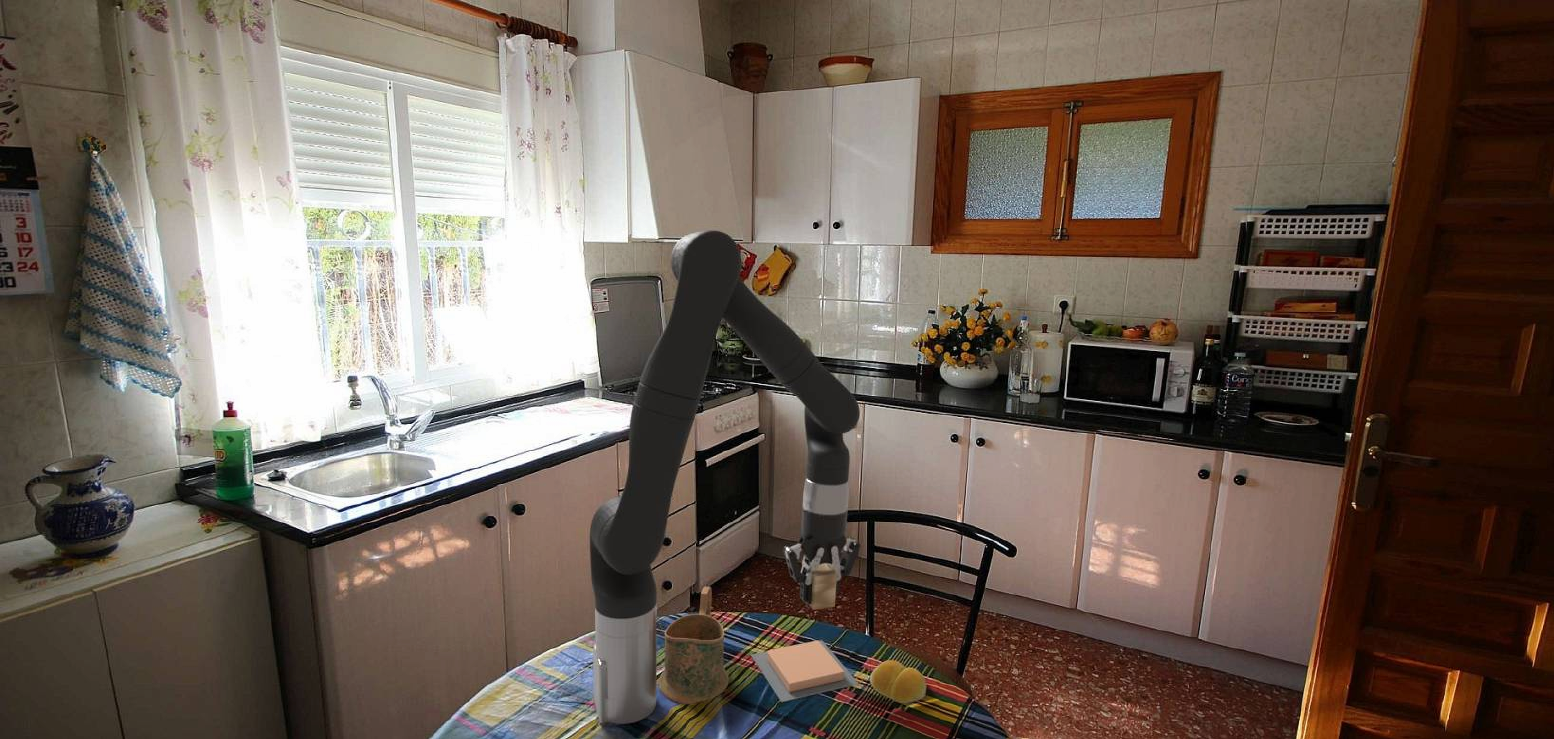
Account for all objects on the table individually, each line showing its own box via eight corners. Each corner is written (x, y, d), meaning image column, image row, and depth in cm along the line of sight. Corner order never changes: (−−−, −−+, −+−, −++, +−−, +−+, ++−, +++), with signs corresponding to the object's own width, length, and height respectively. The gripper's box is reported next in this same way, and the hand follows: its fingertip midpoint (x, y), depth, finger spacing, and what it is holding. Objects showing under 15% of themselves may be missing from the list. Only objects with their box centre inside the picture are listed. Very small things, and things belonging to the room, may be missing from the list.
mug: (739, 645, 129) (740, 584, 127) (722, 707, 112) (723, 637, 110) (676, 640, 130) (677, 579, 128) (650, 700, 113) (650, 631, 111)
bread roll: (913, 712, 112) (914, 690, 112) (863, 691, 118) (864, 668, 117) (934, 687, 119) (936, 666, 118) (887, 668, 124) (888, 647, 123)
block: (813, 610, 119) (815, 576, 118) (803, 598, 122) (805, 566, 121) (834, 606, 120) (837, 573, 119) (824, 595, 124) (826, 563, 123)
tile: (766, 659, 124) (789, 693, 115) (766, 650, 124) (789, 683, 115) (817, 649, 128) (843, 680, 119) (818, 640, 128) (844, 671, 119)
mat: (781, 704, 113) (781, 701, 113) (750, 656, 126) (750, 654, 126) (858, 685, 118) (858, 683, 118) (821, 642, 131) (821, 640, 131)
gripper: (851, 493, 125) (844, 585, 128) (777, 500, 119) (771, 596, 122) (873, 508, 118) (865, 605, 121) (795, 516, 112) (789, 617, 115)
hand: (818, 600), depth 121 cm, fingers closed on block, 4 cm apart
